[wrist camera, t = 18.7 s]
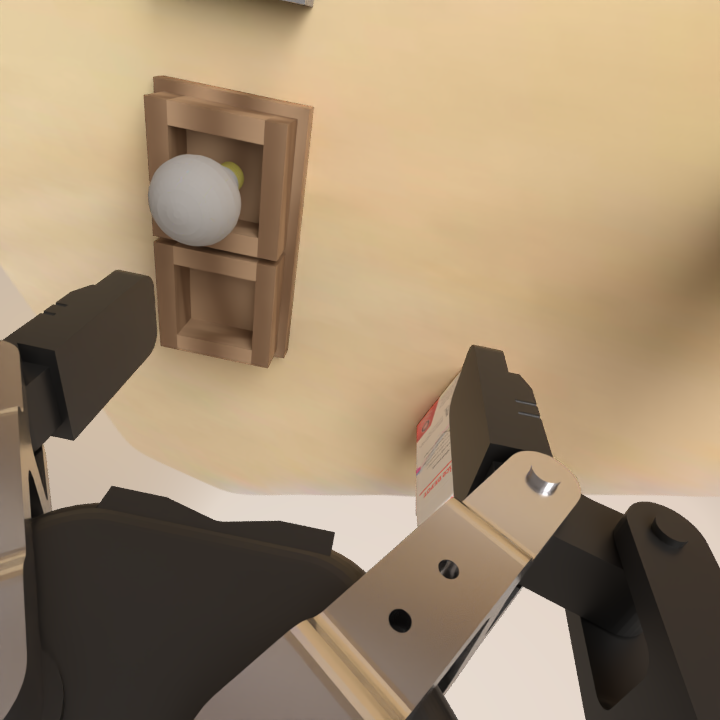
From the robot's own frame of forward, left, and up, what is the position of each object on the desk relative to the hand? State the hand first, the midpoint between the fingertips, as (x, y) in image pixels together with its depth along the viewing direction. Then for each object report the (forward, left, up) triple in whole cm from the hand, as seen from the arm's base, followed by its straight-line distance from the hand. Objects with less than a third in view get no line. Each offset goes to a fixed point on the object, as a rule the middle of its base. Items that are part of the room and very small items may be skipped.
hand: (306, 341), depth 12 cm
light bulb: (+11, +4, -27) cm, 29 cm away
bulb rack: (+11, +9, -28) cm, 31 cm away
